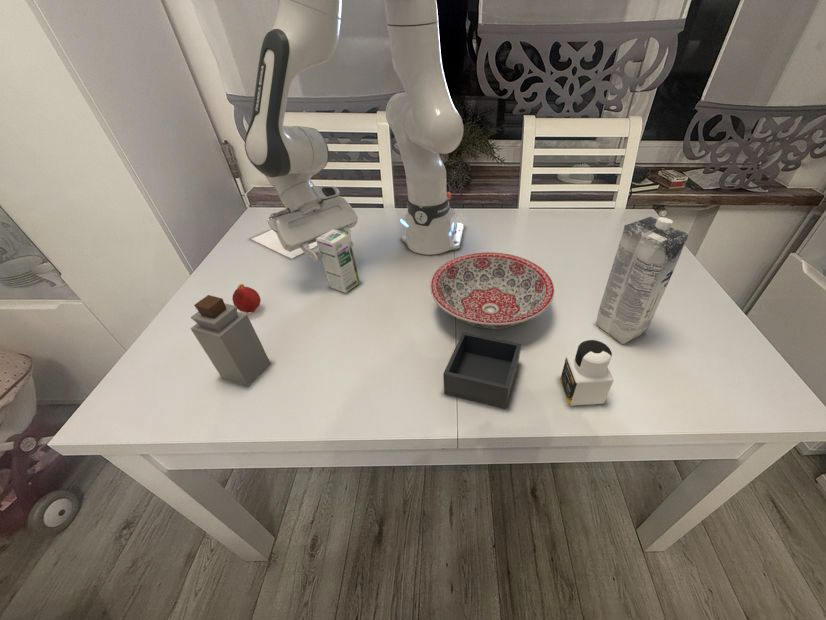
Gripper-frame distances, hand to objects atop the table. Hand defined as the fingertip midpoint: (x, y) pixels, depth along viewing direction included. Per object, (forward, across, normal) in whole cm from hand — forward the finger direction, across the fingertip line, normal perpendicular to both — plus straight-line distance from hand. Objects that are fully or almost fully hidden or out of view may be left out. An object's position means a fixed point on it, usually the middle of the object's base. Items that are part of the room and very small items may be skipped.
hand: (335, 252), depth 98 cm
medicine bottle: (+54, +12, -40) cm, 68 cm away
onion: (+3, -22, +11) cm, 25 cm away
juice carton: (+51, +35, -38) cm, 72 cm away
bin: (+42, +1, -28) cm, 51 cm away
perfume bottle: (+16, -32, -2) cm, 36 cm away
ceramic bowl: (+32, +19, -19) cm, 42 cm away
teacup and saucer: (-17, +5, +30) cm, 35 cm away
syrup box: (+7, 0, +6) cm, 10 cm away
